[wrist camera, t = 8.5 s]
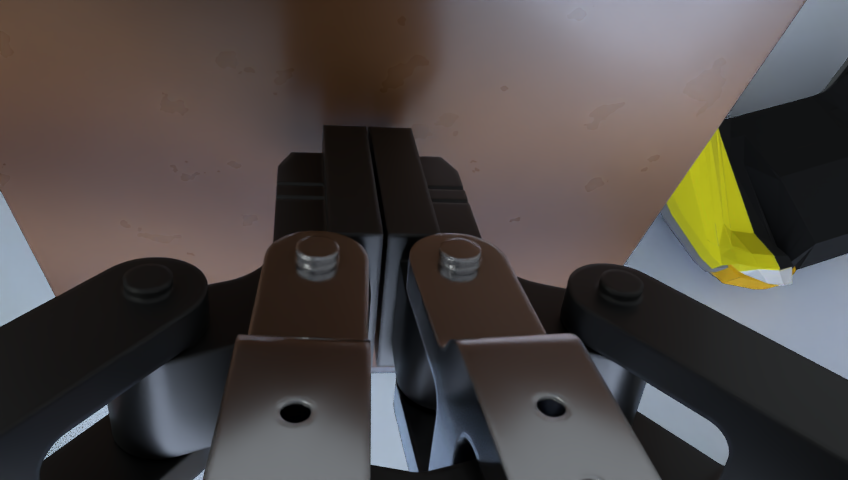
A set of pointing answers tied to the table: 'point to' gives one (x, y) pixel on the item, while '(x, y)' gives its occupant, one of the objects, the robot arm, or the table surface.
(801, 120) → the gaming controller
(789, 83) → the table surface
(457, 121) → the lid
